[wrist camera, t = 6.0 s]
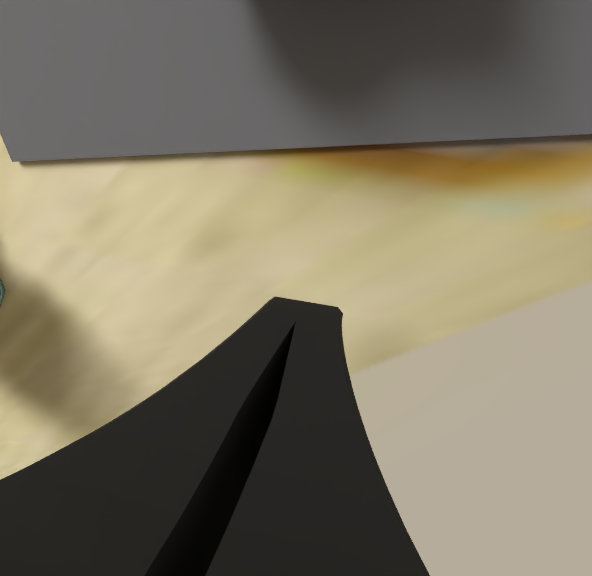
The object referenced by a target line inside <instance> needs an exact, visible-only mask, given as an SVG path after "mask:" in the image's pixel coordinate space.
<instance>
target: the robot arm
mask: <svg viewBox="0 0 592 576" xmlns="http://www.w3.org/2000/svg"><path fill="white" fill-rule="evenodd" d="M342 316H343V313H342V312H341V310H340V309H339V308H338V307H334V306H328V305H322V304H316V303H310V302H304V301H298V300H292V299H286V298H281V297H274V298H272V299H271V300H269V301H268V302H267V303H266V304H265V305H264V306H263V307H262V308H261V309H260V310H259V311H257V312H256V313H255V314H254V315H253V316H252V317H251V318H250V319H249V320H248V321H247V322H245V323H244V324H243V325H242V326H241V327H240V328H239V329H237V330H236V331H235V332H234V333H233V334H232V335H231V336H229V337H228V338H227V339H226V340H224V341H223V342H222V343H221V344H220V345H218V346H217V347H216V348H215V349H214V350H212V351H211V352H210V353H209V354H208V355H206V356H205V357H204V358H203V359H201V360H200V361H199V362H197V363H196V364H195V365H193V366H192V367H191V368H189V369H188V370H186V371H185V372H184V373H182V374H181V375H180V376H178V377H177V378H176V379H174V380H173V381H172V382H170V383H169V384H168V385H166V386H165V387H163V388H162V389H160V390H159V391H158V392H156V393H155V394H153V395H152V396H150V397H149V398H147V399H146V400H144V401H143V402H141V403H140V404H138V405H136V406H135V407H133V408H132V409H130V410H129V411H127V412H125V413H124V414H122V415H120V416H119V417H117V418H116V419H114V420H112V421H111V422H109V423H107V424H106V425H104V426H102V427H101V428H99V429H97V430H95V431H93V432H92V433H90V434H88V435H86V436H85V437H83V438H81V439H79V440H77V441H75V442H73V443H71V444H70V445H68V446H66V447H64V448H62V449H60V450H58V451H56V452H55V453H53V454H51V455H49V456H47V457H45V458H43V459H41V460H40V461H38V462H36V463H34V464H32V465H30V466H28V467H26V468H24V469H22V470H20V471H18V472H16V473H14V474H12V475H10V476H7V477H5V478H3V479H1V480H0V576H430V575H429V573H428V571H427V569H426V567H425V565H424V563H423V562H422V560H421V558H420V556H419V554H418V552H417V550H416V548H415V546H414V544H413V542H412V540H411V538H410V536H409V534H408V532H407V530H406V528H405V526H404V524H403V522H402V519H401V517H400V515H399V513H398V510H397V508H396V506H395V504H394V502H393V500H392V497H391V495H390V493H389V491H388V488H387V486H386V483H385V481H384V478H383V476H382V474H381V471H380V469H379V466H378V464H377V461H376V459H375V457H374V453H373V451H372V448H371V445H370V442H369V440H368V437H367V434H366V431H365V428H364V425H363V422H362V419H361V416H360V413H359V410H358V406H357V403H356V399H355V396H354V392H353V389H352V385H351V380H350V376H349V372H348V368H347V363H346V358H345V352H344V346H343V338H342Z"/></svg>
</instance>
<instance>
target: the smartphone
mask: <svg viewBox="0 0 592 576" xmlns="http://www.w3.org/2000/svg"><path fill="white" fill-rule="evenodd" d="M4 294H5V288H4V285H3V283H2V281H1V279H0V306H1V303H2V300H3V297H4Z"/></svg>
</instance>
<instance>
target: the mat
mask: <svg viewBox="0 0 592 576" xmlns="http://www.w3.org/2000/svg"><path fill="white" fill-rule="evenodd" d="M0 133H1V136H2V138H3V141H4V143H5V146H6V148H7V151H8V153H9V155H10V158H11V160H12V162H16V161H37V160H58V159H79V158H100V157H121V156H142V155H163V154H184V153H205V152H226V151H246V150H267V149H288V148H309V147H330V146H351V145H372V144H393V143H414V142H435V141H456V140H477V139H498V138H519V137H540V136H561V135H582V134H592V0H0Z"/></svg>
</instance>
